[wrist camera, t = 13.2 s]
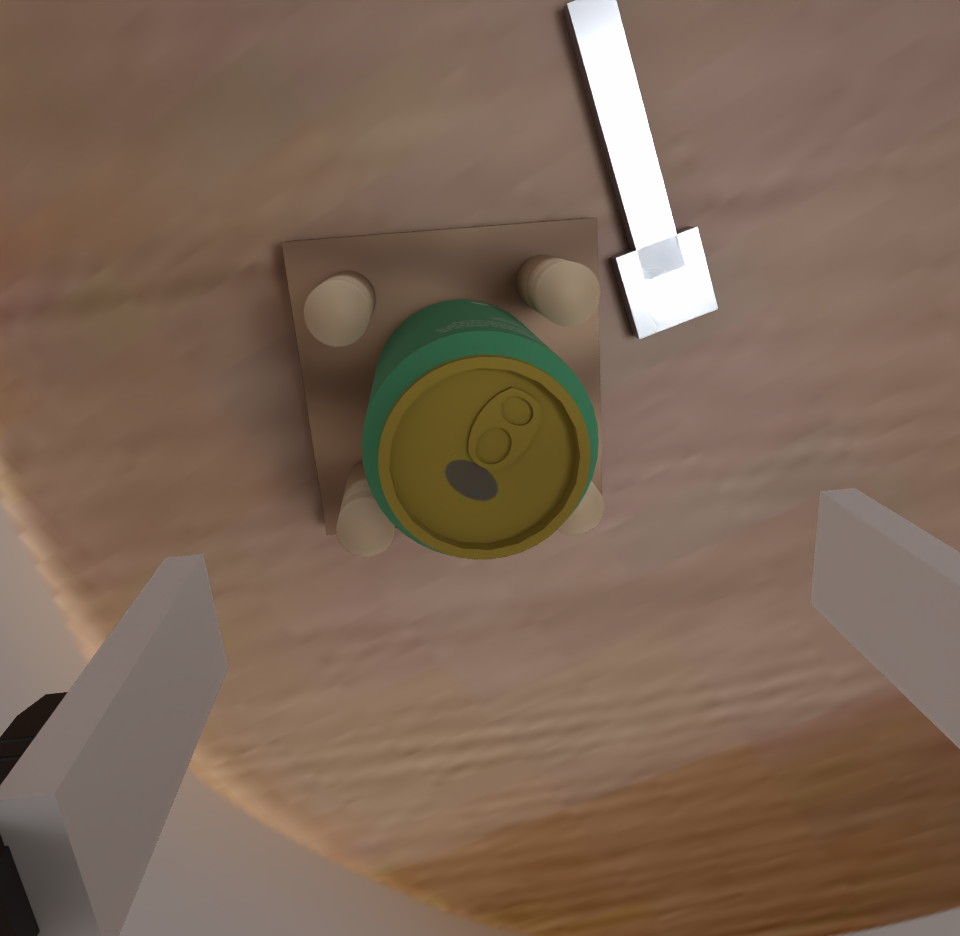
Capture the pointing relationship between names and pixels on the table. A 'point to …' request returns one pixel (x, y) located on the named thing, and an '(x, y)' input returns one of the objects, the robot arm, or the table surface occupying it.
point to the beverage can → (476, 432)
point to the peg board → (399, 294)
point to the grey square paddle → (636, 180)
